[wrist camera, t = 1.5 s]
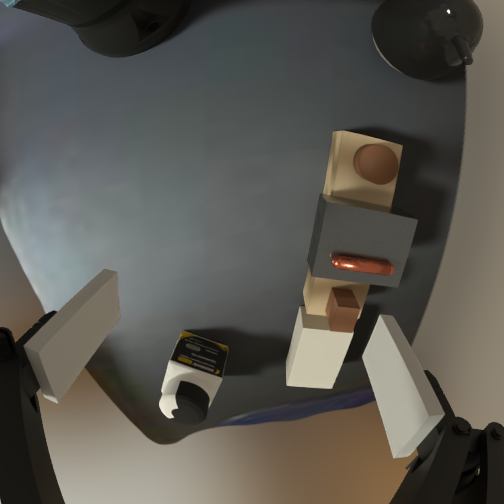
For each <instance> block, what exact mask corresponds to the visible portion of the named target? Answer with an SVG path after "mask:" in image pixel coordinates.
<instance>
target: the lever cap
mask: <svg viewBox="0 0 504 504" xmlns="http://www.w3.org/2000/svg"><path fill="white" fill-rule="evenodd" d="M417 222H418V219H416V218H415V217H413V216H411V215H410V214H408V213H407V212H405V211H404V210H402V209H398V208H393V207H389V206H384V205H379V204H374V203H369V202H364V201H359V200H354V199H349V198H343V197H338V196H332V195H327V194H321V193H320V196H319V201H318V207H317V212H316V218H315V223H314V228H313V233H312V238H311V243H310V248H309V253H308V258H307V261H308V265H309V269H310V272H311V276H312V277H317V278H325V279H333V280H340V281H348V282H356V283H364V284H372V285H380V286H389V287H397V288H398V286H399V283H400V280H401V277H402V274H403V271H404V268H405V264H406V261H407V258H408V255H409V251H410V248H411V244H412V241H413V237H414V233H415V230H416V226H417Z"/></svg>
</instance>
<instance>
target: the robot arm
mask: <svg viewBox="0 0 504 504" xmlns="http://www.w3.org/2000/svg"><path fill="white" fill-rule="evenodd" d="M0 2H3V3H4V4H5V5H6V6H7V7H14V8H18V9H22V10H25V11H28V12H32V13H35V14H38V15H41V16H44V17H47V18H50V19H53V20H56V21H58V22H61V23H64V24H67V25H69V26H71V27H72V28H73V30H74V31H75V32H76V33H77V34H78V36H79V38H80V40H81V41H82V43H83V44H84V45H85V46H86V47H88V48H89V49H90V50H92V51H94V52H96V53H99V54H102V55H104V56H108V57H127V56H131V55H135V54H138V53H140V52H143V51H145V50H147V49H149V48H151V47H153V46H154V45H156V44H157V43H159V42H160V41H162V40H163V39H164V38H165V37H167V36H168V35H169V34H170V33H171V32H172V31H173V30H174V29H175V28H176V27H177V25H178V24H179V23H180V22H181V20H182V19H183V17H184V15H185V13H186V11H187V9H188V7H189V4H190V0H0ZM120 318H121V316H120V305H119V292H118V276H117V272H116V271H111V270H107V269H104V270H103V271H102V272H101V273H99V274H98V275H97V276H96V277H95V278H94V279H93V280H91V281H90V282H89V283H88V284H87V285H86V286H85V287H84V288H83V289H82V290H80V291H79V292H78V293H77V294H76V295H75V296H74V297H73V298H72V299H71V300H70V301H69V302H67V303H66V304H65V305H64V306H63V307H62V308H61V309H60V310H59V311H58V312H57V311H54V310H53V311H51V312H49V313H47V314H45V315H44V316H43V317H42V318H41V319H39V320H38V322H37V323H35V324H34V325H33V326H32V328H30V329H29V330H28V331H27V332H26V333H25V334H24V335H23V336H22V337H21V338H20V339H19V340H18V341H17V342H16V343H15V341H14V338H13V335H12V332H11V331H10V330H9V329H7V328H5V327H0V500H1V504H65V502H64V500H63V497H62V494H61V491H60V488H59V485H58V482H57V479H56V476H55V473H54V469H53V465H52V462H51V459H50V454H49V451H48V447H47V442H46V438H45V434H44V429H43V424H42V419H41V413H40V407H39V401H38V397H37V394H36V392H37V391H38V390H39V388H41V391H42V393H43V395H44V397H45V398H47V399H49V400H51V401H53V402H55V403H57V404H59V403H60V401H61V400H62V398H63V396H64V395H65V394H66V392H67V391H68V389H69V388H70V386H71V385H72V383H73V382H74V381H75V379H76V378H77V376H78V375H79V373H80V372H81V370H82V369H83V368H84V366H85V365H86V364H87V362H88V361H89V359H90V358H91V357H92V355H93V354H94V353H95V351H96V350H97V348H98V347H99V346H100V344H101V343H102V342H103V340H104V339H105V338H106V336H107V335H108V334H109V332H110V331H111V330H112V328H113V327H114V326H115V324H116V323H117V322H118V320H119V319H120ZM362 358H363V361H364V364H365V367H366V370H367V373H368V376H369V379H370V382H371V385H372V388H373V391H374V394H375V397H376V400H377V404H378V407H379V410H380V413H381V417H382V420H383V423H384V427H385V430H386V433H387V437H388V441H389V444H390V448H391V452H392V455H393V458H399V457H407V456H410V454H411V453H412V452H413V451H414V450H415V449H416V448H417V451H418V454H419V455H418V456H417V457H416V458H415V459H414V460H413V461H412V462H411V463H410V464H409V465H408V466H407V467H406V468H405V469H408V468H409V467H410V466H411V467H410V469H409V471H408V473H407V474H406V476H405V478H404V480H403V482H402V483H401V485H400V487H399V489H398V490H397V492H396V494H395V495H394V497H393V499H392V500H391V502H390V503H389V504H504V427H503V426H502V425H501V424H499V423H496V422H492V423H489V424H488V425H487V427H486V428H485V429H484V430H479V429H472V427H471V425H470V424H469V422H468V421H466V420H465V419H463V418H461V417H455V415H454V413H453V410H452V408H451V406H450V404H449V403H448V401H447V399H446V397H445V395H444V394H443V391H442V389H441V388H440V385H439V383H438V381H437V379H436V378H435V377H434V376H433V375H432V374H431V373H430V372H429V371H428V370H423V369H422V367H421V365H420V363H419V362H418V360H417V358H416V356H415V354H414V352H413V350H412V349H411V347H410V345H409V343H408V341H407V340H406V338H405V336H404V334H403V332H402V331H401V329H400V327H399V326H398V324H397V322H396V320H395V319H394V317H393V316H390V315H380V316H379V318H378V321H377V323H376V326H375V328H374V330H373V333H372V335H371V337H370V340H369V342H368V344H367V347H366V349H365V351H364V353H363V356H362ZM479 468H480V472H479V475H478V469H479Z"/></svg>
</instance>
